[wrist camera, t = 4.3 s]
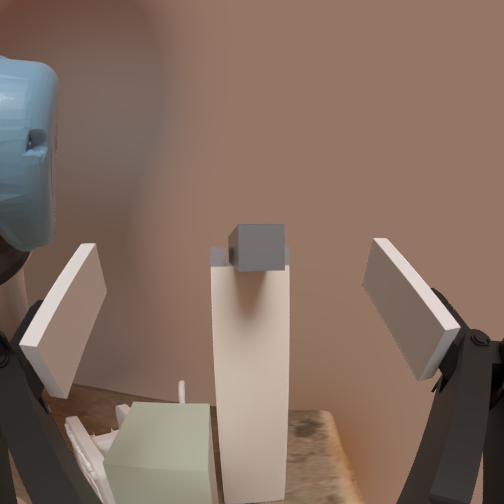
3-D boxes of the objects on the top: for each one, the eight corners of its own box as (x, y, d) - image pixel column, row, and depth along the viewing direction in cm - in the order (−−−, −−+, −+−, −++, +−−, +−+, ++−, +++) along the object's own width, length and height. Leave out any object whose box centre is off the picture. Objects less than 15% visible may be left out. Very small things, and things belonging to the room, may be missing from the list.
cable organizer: (185, 507, 31) (174, 444, 31) (116, 533, 24) (90, 469, 24) (134, 457, 42) (123, 399, 42) (78, 472, 34) (59, 411, 34)
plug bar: (238, 271, 24) (238, 224, 24) (228, 262, 44) (228, 236, 44) (285, 270, 24) (284, 224, 24) (254, 262, 44) (254, 236, 44)
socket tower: (224, 504, 32) (210, 246, 32) (221, 450, 46) (212, 248, 46) (284, 499, 33) (288, 245, 33) (268, 448, 47) (267, 247, 47)
